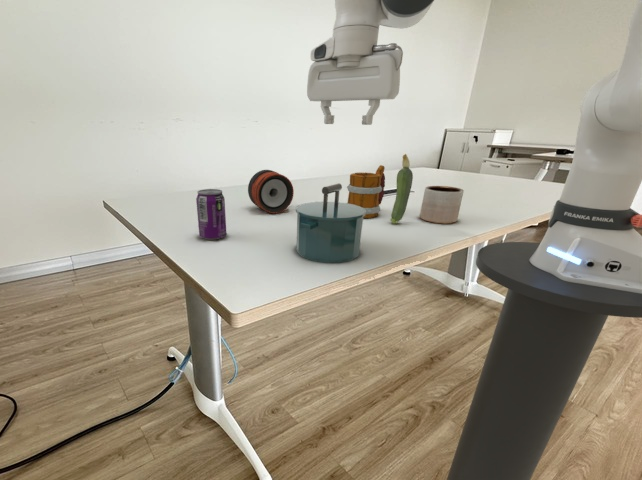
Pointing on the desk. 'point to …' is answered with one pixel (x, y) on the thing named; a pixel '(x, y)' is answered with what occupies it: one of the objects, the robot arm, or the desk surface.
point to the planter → (441, 204)
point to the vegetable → (402, 190)
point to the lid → (331, 207)
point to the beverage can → (211, 214)
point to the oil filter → (270, 191)
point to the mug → (367, 191)
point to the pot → (328, 239)
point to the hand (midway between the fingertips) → (347, 124)
